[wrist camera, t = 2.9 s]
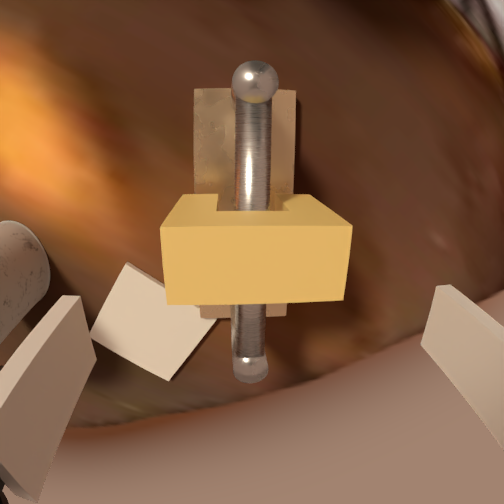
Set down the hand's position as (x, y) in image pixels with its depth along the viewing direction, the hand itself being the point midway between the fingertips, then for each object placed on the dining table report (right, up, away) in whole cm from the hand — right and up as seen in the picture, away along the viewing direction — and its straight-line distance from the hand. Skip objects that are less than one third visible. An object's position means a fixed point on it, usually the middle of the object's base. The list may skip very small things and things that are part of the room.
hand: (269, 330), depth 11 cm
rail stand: (-1, +6, +17) cm, 18 cm away
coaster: (-11, -5, +20) cm, 23 cm away
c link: (-1, +5, +12) cm, 13 cm away
